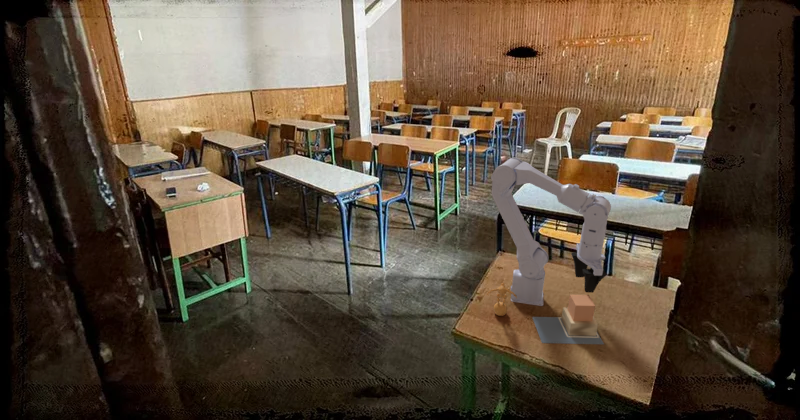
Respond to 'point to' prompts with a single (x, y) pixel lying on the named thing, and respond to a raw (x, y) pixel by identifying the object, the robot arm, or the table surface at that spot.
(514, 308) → the table surface
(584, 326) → the maple base block
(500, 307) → the figurine
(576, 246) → the robot arm
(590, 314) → the terracotta cube
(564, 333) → the mat
